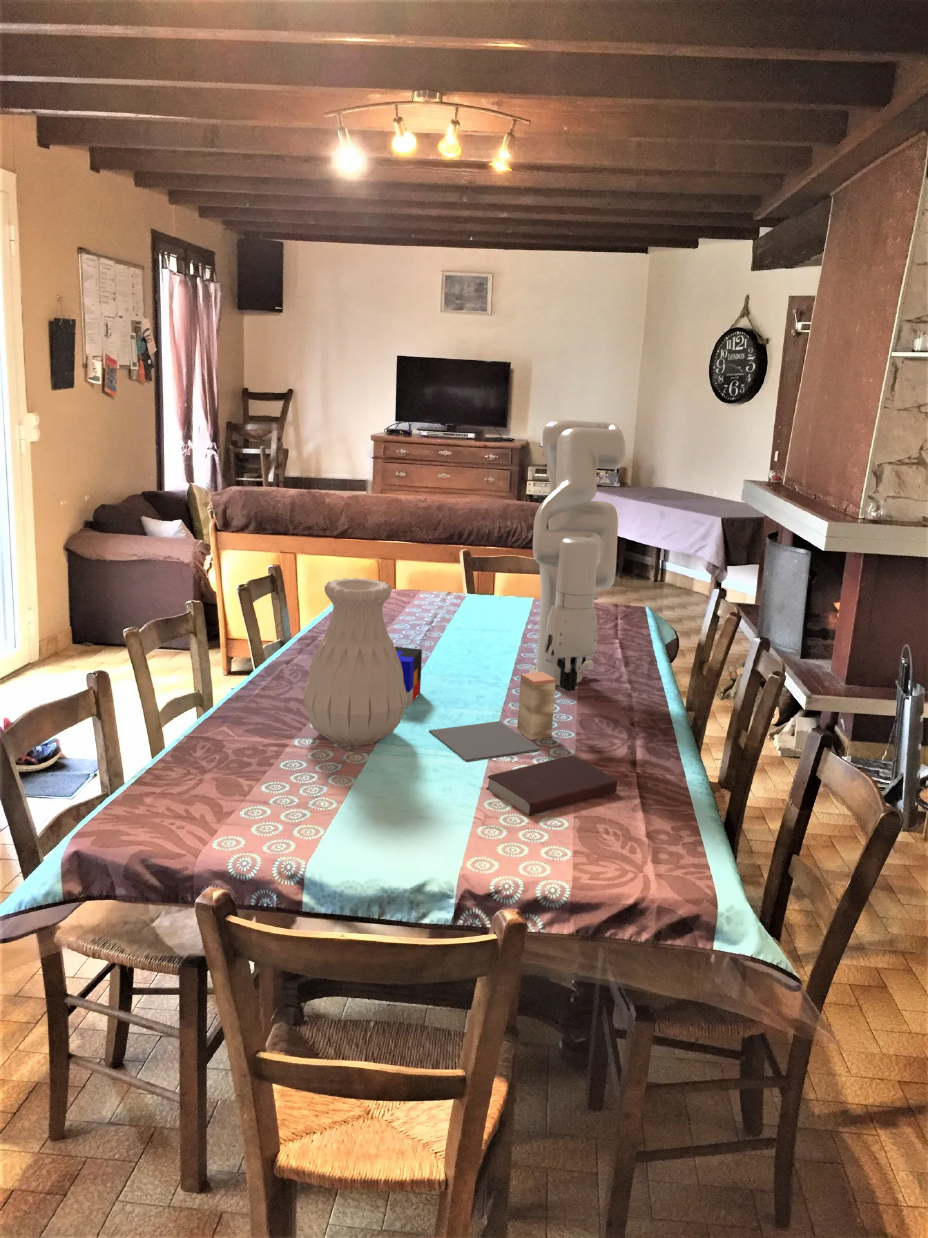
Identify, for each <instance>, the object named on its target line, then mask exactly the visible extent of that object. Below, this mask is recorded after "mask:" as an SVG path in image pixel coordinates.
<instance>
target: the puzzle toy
mask: <svg viewBox="0 0 928 1238" xmlns="http://www.w3.org/2000/svg"><path fill="white" fill-rule="evenodd" d="M395 649H396V652H397V655H398V657H399V660H400V662H401V666H402V670H403V680H404V685H405V688H406V693H407V697H408V701H407V704H406V707H408V706H409V705H410V706H411V705H412V703H413V702H414V701H415V700H416V699H417V697H418V696H417V695H418V694H419V695H420V693H421V683H422V682H421V681H422V680H421V679H422V658H423V649H421V648H413V647H401V646H395ZM416 696H417V697H416ZM413 700H414V701H413ZM412 701H413V702H412ZM410 706H409V707H410Z"/></svg>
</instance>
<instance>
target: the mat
mask: <svg viewBox="0 0 928 1238" xmlns="http://www.w3.org/2000/svg"><path fill="white" fill-rule="evenodd" d="M428 733H430V734H431V735H432V736H433V737H435V738H436V739H437V740H438V741H440V742H441V743H442V744H444V745H445V746H446V747H447V748H449V749H450V750H451V751H452V750H453V751H452V752H453V753H455V754H456V755H457V754H458V755H457V756H458V757H459V758H461V759H462V760H463V759H464V760H463V761H465V762H471V761H476V759H478V760H484V759H491V758H497V757H505V756H510V755H517V754H524V753H531V752H536V751H537V752H538V751H541V748H540V747H539V746H537V745H535V744H534V743H533V742H531V741H530V740H528V738H526V737H525V736H523V735H522V734H520V733H519V732H516V731H515V730H514V729H512V728H511V727H509V726H507V725H506V724H505V723H503V722H502V721H500V720H497V721H489V722H482V723H475V724H474V723H473V724H468V725H465V724H464V725H458V726H451V727H450V726H449V727H445V728H437V729H430V730H428Z"/></svg>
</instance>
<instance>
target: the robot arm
mask: <svg viewBox="0 0 928 1238" xmlns="http://www.w3.org/2000/svg"><path fill="white" fill-rule="evenodd" d="M541 440H542V441H541V442H542V452H543V456H544V457H543V458H544V460H545V464H546V467H547V470H548V475H549V480H550V481H549V482H550V484H549V494H548V495H547V497H545V499H543V501H542V502H541V504H540V505H539V507H538V508H537V511H536V513H535V516H534V521H533V530H532V531H533V532H532V533H533V534H532V535H533V536H532V556H533V558H534V561H535V562H536V563H537V564H538V565H539V577H540V606H539V607H540V608H539V619H538V620H539V621H538V622H539V624H538V636H537V650H536V664H535V667H533V668H531V669H529V671H528V673H536V672H544V673H546V674H547V675H549V676H551V677H553V678H555V679H556V684H555V686H559V687H560V689H562V690H564V691H566V692H571V691H572V692H574V691H576V688H577V687H576V685H577V684H579V683H580V682H581V681H582V680H583V675H582V673H581V671H583V670H590V669H593V668H594V666H595V664H594V662H593V659H594V657H595V652H596V649H597V644H598V617H597V609H596V606H594V605H595V601H597V600H599V593H597V592H596V591H597V590H598V591H601V590H603V591H604V590H608V589H610V588H612V586H614V585H613V584H614V583H615V579H616V573H617V555H618V554H617V553H618V550H617V549H618V536H619V535H618V534H619V533H618V530H619V516H618V511H617V509H616V506H615V505H613V503H610V502H608V501H602V500H601V501H599V500H593V499H594V498H595V497H596V495H597V490H598V489H597V488H598V486H597V482H598V481H597V480H598V479H597V469H604V470H605V469H606V470H607V469H608V470H617V469H619V468H621V467H622V465H623V463H624V460H625V457H626V440H625V436H624V433H623V431H622V429H621V428H620V426H619V425H617V424H616V423H613V422H601V421H587V420H586V421H585V420H571V419H569V420H566V419H563V420H555V421H554V420H553V421H550V422H549V423H546V425H545V426H544V427H543V431H542V437H541Z"/></svg>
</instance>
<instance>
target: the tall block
mask: <svg viewBox="0 0 928 1238" xmlns="http://www.w3.org/2000/svg"><path fill="white" fill-rule="evenodd" d="M519 681H520V684H519V694H518V695H519V697H518V698H519V699H518V712H517V726H516V731H517V733H518V734H520V735H521V736H523V737H524V738H526V739H527V740H528V739H529V741H530V740H537V739H538V740H539V739H543V738H544V739H545V738H550V737H551V738H552V735H553V734H552V731H553V720H554V707H555V706H554V705H555V693H556V685H555V684H556V679H555V678H553V677H551V676H549V675H547V674H546V673H544V672H536V673H529V672H528V673H521V674H520V680H519Z"/></svg>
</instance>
